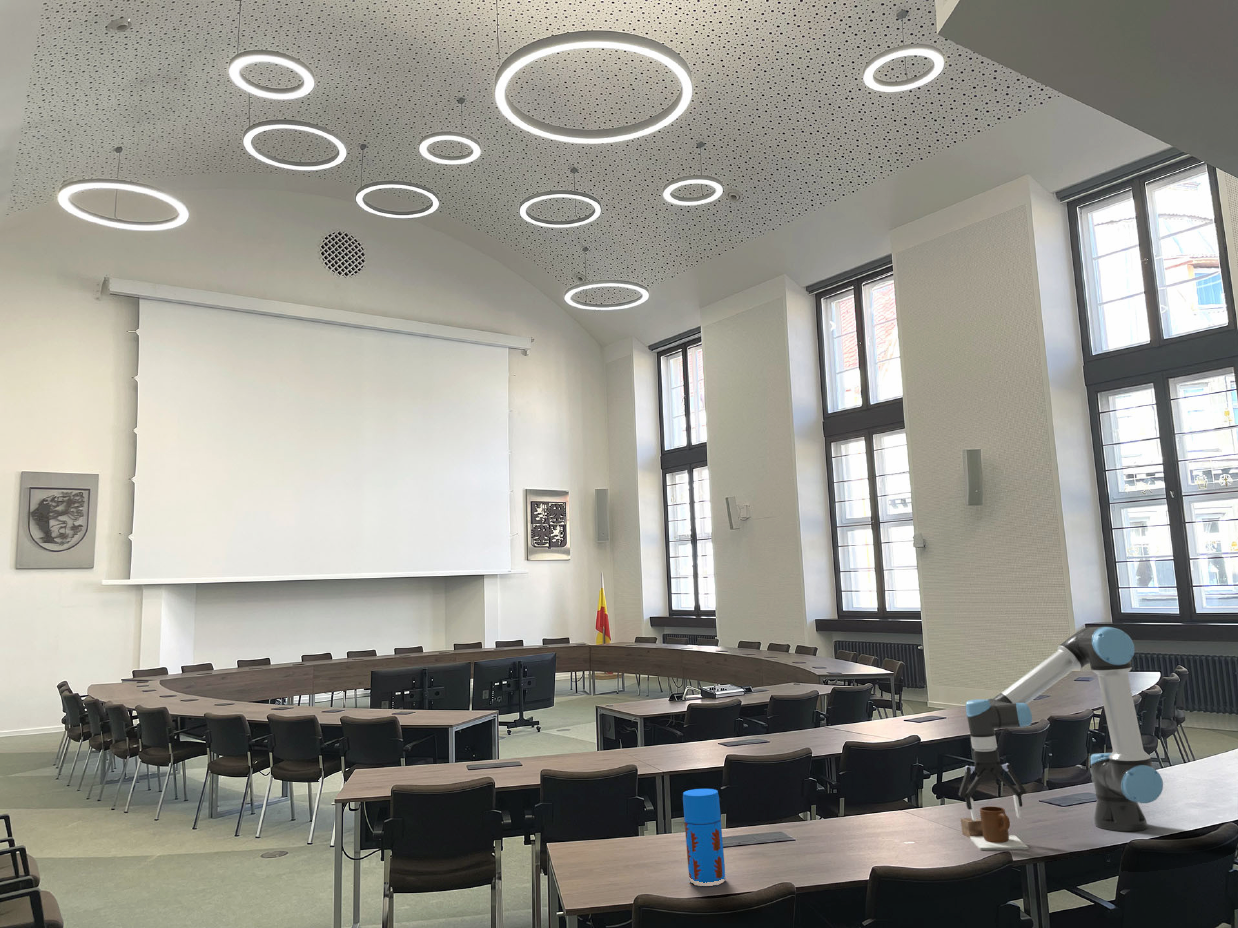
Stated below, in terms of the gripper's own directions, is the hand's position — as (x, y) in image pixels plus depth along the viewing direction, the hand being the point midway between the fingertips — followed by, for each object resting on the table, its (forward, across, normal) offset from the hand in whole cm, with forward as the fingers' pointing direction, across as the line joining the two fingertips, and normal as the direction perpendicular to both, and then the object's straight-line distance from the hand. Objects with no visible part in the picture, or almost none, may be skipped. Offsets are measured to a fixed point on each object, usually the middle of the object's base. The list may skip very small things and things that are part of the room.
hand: (996, 818), depth 267 cm
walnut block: (+7, +6, -11) cm, 14 cm away
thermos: (+5, +91, +33) cm, 97 cm away
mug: (+7, 0, 0) cm, 7 cm away
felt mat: (+7, +1, 0) cm, 7 cm away
